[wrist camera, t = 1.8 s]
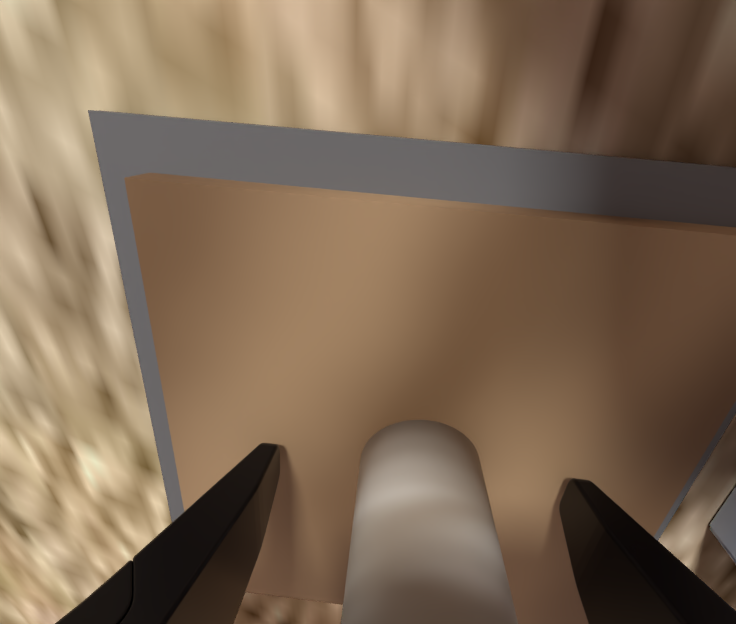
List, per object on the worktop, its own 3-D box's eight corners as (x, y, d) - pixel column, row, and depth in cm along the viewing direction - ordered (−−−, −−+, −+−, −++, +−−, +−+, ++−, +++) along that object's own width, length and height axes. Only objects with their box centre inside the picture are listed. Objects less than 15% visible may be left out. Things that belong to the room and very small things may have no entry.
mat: (854, 177, 7) (878, 180, 7) (598, 614, 13) (604, 628, 13) (103, 111, 8) (87, 110, 7) (188, 563, 14) (182, 574, 13)
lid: (787, 232, 7) (1349, 392, 3) (582, 606, 13) (678, 862, 8) (149, 172, 8) (-172, 236, 3) (209, 560, 13) (112, 780, 9)
